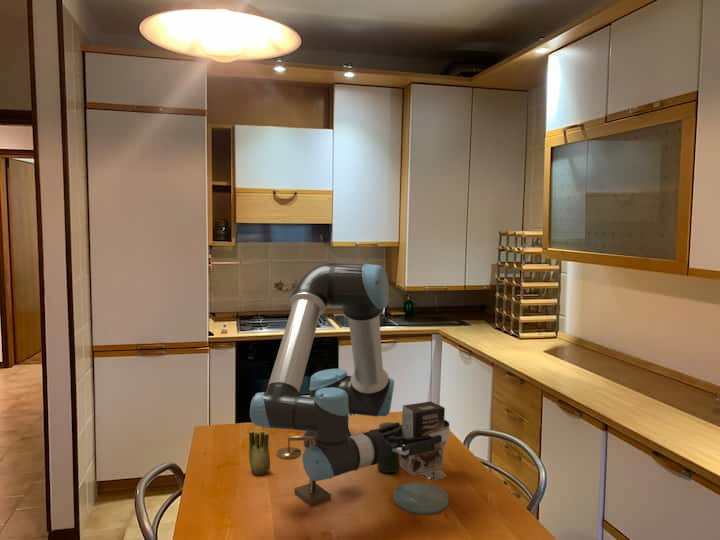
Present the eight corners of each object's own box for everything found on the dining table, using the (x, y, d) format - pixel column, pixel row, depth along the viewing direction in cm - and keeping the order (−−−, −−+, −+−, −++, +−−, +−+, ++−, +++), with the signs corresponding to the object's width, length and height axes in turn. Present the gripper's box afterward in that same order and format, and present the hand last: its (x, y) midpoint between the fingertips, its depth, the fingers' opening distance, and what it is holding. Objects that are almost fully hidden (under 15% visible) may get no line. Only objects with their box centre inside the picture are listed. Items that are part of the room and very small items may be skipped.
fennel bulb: (246, 472, 157) (246, 430, 156) (260, 466, 161) (260, 426, 160) (259, 478, 153) (259, 436, 152) (273, 473, 157) (273, 431, 156)
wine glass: (446, 482, 154) (448, 429, 152) (417, 478, 155) (419, 426, 154) (448, 469, 161) (450, 419, 160) (420, 466, 163) (422, 416, 162)
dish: (382, 496, 145) (382, 491, 145) (422, 482, 153) (422, 477, 153) (418, 520, 134) (419, 515, 134) (460, 503, 142) (460, 498, 142)
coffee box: (413, 476, 138) (415, 412, 136) (399, 466, 143) (401, 404, 142) (443, 469, 142) (445, 407, 140) (428, 459, 148) (430, 400, 146)
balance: (270, 501, 141) (270, 433, 140) (336, 480, 153) (337, 418, 152) (285, 514, 135) (286, 444, 133) (353, 492, 147) (354, 427, 145)
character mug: (379, 461, 166) (380, 418, 165) (403, 463, 165) (404, 420, 164) (372, 477, 156) (373, 431, 155) (398, 480, 154) (399, 434, 153)
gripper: (341, 450, 140) (411, 431, 153) (392, 481, 123) (465, 457, 137) (342, 421, 139) (411, 404, 152) (393, 448, 123) (466, 427, 136)
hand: (436, 429), depth 145 cm, fingers closed on coffee box, 7 cm apart
